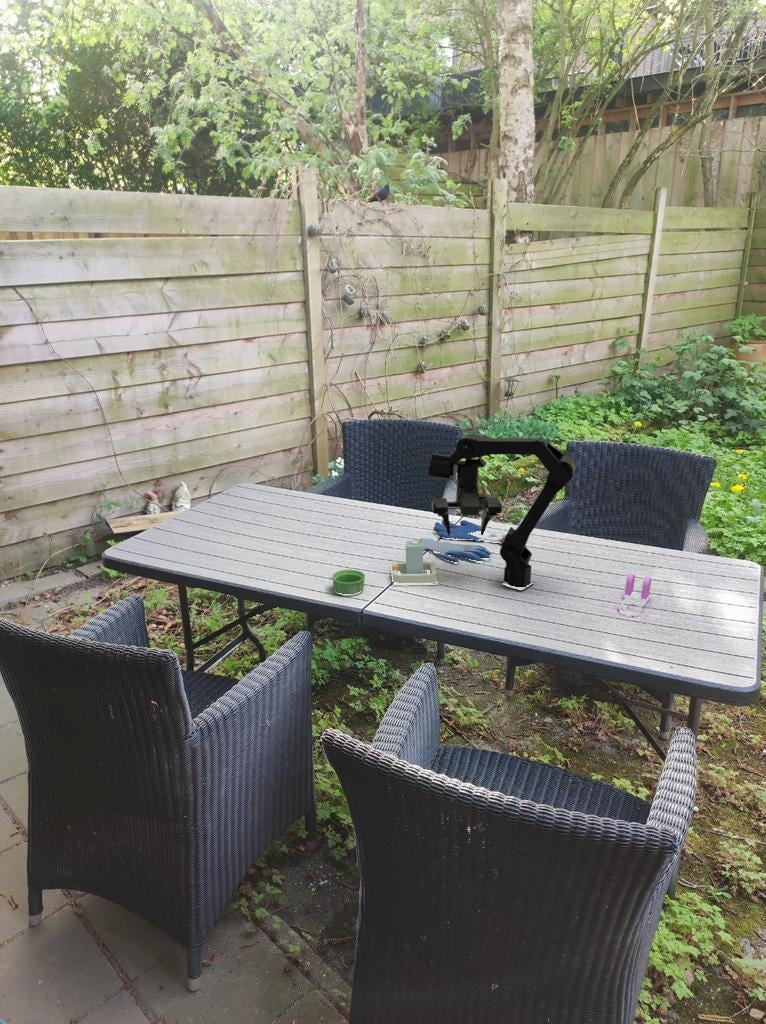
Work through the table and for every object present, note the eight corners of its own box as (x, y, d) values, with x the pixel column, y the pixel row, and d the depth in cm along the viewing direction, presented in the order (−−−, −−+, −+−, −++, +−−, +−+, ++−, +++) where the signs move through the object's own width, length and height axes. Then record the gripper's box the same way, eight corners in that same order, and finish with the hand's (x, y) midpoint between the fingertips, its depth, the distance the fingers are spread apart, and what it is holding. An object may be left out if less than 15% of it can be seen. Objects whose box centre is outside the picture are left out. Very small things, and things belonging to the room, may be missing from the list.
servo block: (426, 573, 203) (427, 537, 199) (428, 579, 198) (428, 543, 195) (400, 573, 203) (400, 538, 199) (401, 579, 198) (401, 544, 195)
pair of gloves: (480, 571, 206) (481, 560, 205) (402, 555, 218) (402, 544, 217) (516, 537, 233) (517, 526, 232) (445, 524, 244) (445, 514, 243)
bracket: (627, 594, 191) (630, 571, 188) (648, 599, 188) (651, 575, 186) (615, 614, 180) (618, 589, 178) (638, 619, 177) (641, 594, 175)
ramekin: (328, 586, 196) (327, 572, 195) (359, 581, 199) (358, 567, 198) (337, 600, 188) (337, 584, 187) (369, 594, 191) (369, 579, 190)
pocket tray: (435, 570, 206) (435, 557, 204) (438, 585, 196) (439, 572, 195) (390, 571, 205) (390, 558, 204) (391, 586, 196) (391, 573, 194)
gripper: (436, 490, 184) (434, 546, 189) (507, 489, 184) (504, 545, 190) (432, 478, 194) (430, 531, 200) (499, 477, 195) (496, 530, 200)
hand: (465, 534), depth 197 cm, fingers open, 9 cm apart
